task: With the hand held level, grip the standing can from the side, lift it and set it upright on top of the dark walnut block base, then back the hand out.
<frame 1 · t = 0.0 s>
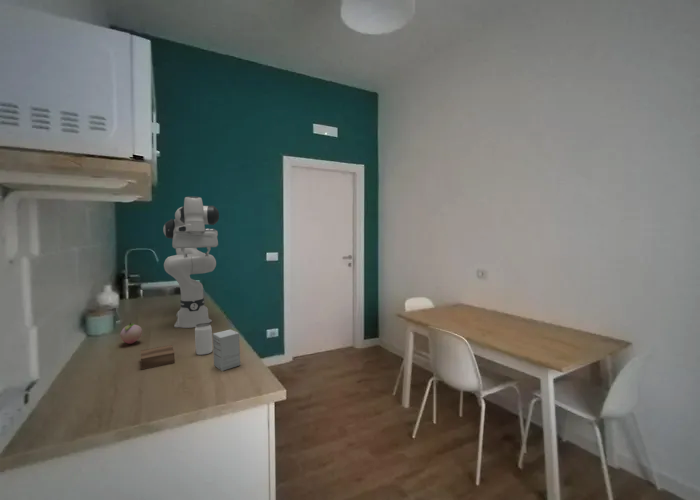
hand: (196, 257, 161), 39 cm above the countertop, tool pointing down, fingers open, 8 cm apart
walnut base: (157, 361, 130), on the countertop
supplement box: (227, 366, 125), on the countertop
decorative fruit: (132, 344, 152), on the countertop
can: (204, 353, 139), on the countertop
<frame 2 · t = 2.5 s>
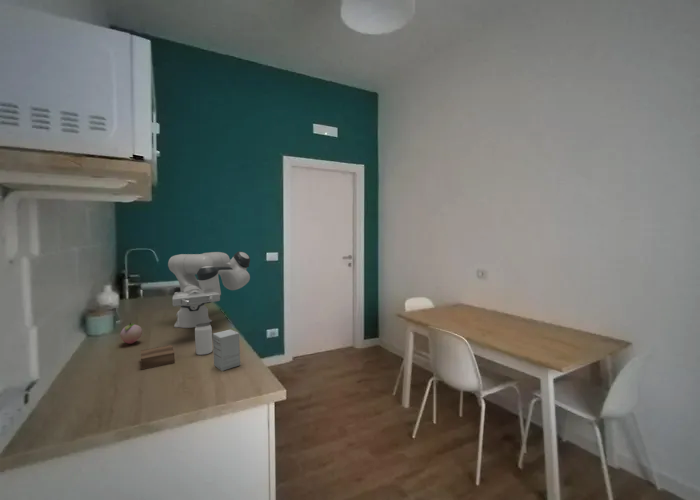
hand: (198, 301, 149), 20 cm above the countertop, tool horizontal, fingers open, 8 cm apart
nothing on the countertop moved.
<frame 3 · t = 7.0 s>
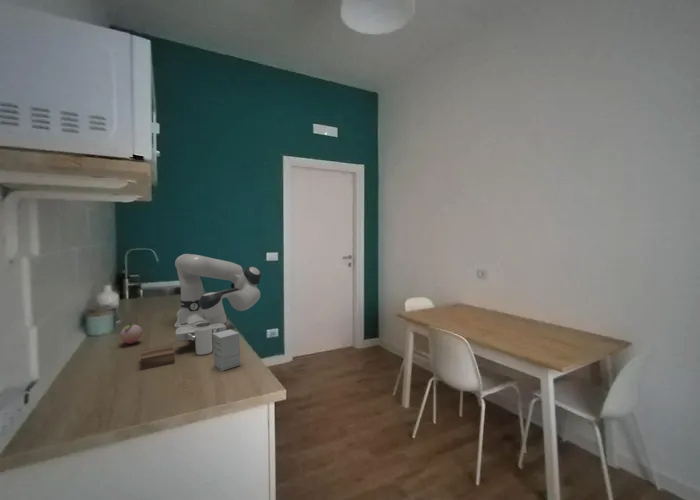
hand: (203, 336, 138), 7 cm above the countertop, tool horizontal, fingers closed on can, 6 cm apart
can: (204, 353, 139), on the countertop, touching gripper
everything else where it was.
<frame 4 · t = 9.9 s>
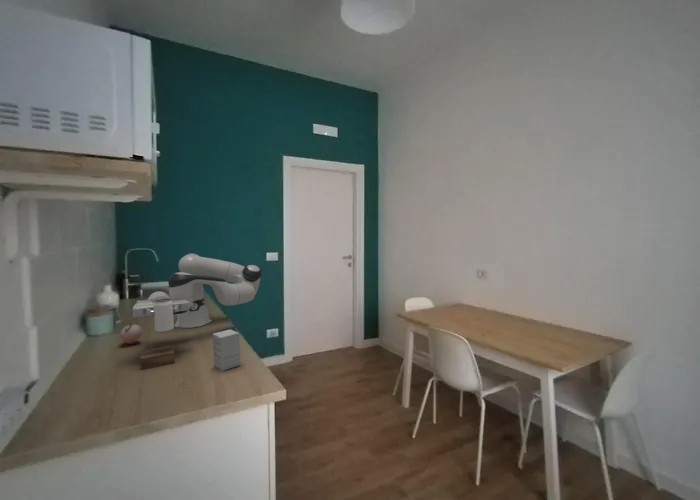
hand: (163, 311, 129), 20 cm above the countertop, tool horizontal, fingers closed on can, 6 cm apart
can: (164, 330, 130), point 12 cm above the countertop, touching gripper
everything else where it was.
when the fingers open (12 cm above the countertop, at t = 12.8 s): can stays where it is, resting on walnut base.
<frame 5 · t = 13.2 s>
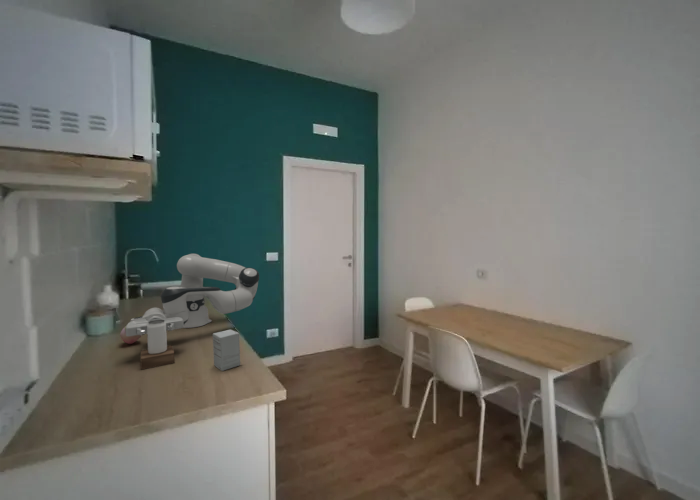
hand: (156, 331, 129), 12 cm above the countertop, tool horizontal, fingers open, 8 cm apart
can: (157, 352, 130), point 4 cm above the countertop, touching walnut base
everything else where it was.
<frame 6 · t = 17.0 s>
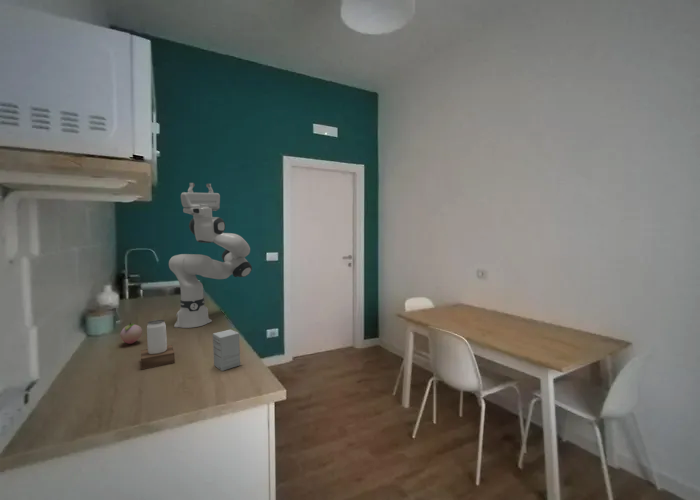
hand: (200, 183, 165), 75 cm above the countertop, tool pointing upward, fingers open, 8 cm apart
nothing on the countertop moved.
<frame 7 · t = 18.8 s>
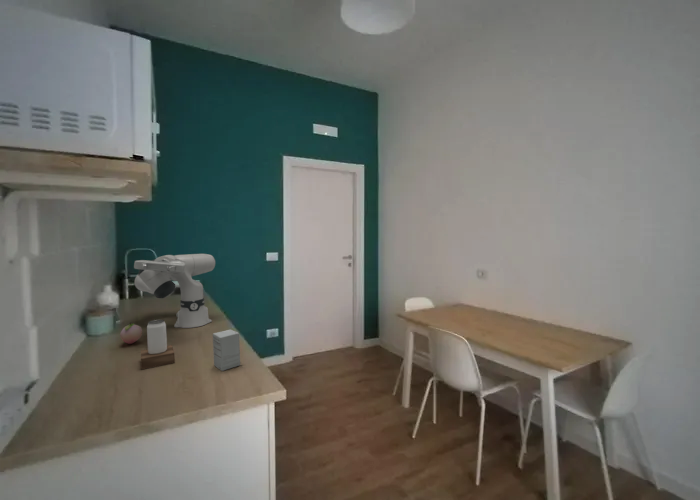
hand: (156, 268, 143), 36 cm above the countertop, tool horizontal, fingers open, 8 cm apart
nothing on the countertop moved.
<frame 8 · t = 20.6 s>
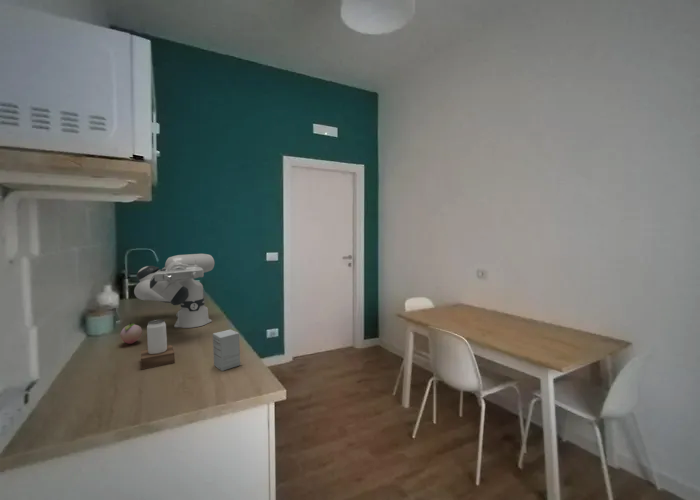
hand: (181, 276, 146), 31 cm above the countertop, tool horizontal, fingers open, 8 cm apart
nothing on the countertop moved.
at the end: can 0.3 cm off-centre on the walnut base, point 3.8 cm above the walnut base's base; can tilted 0°; the gripper is holding nothing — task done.
